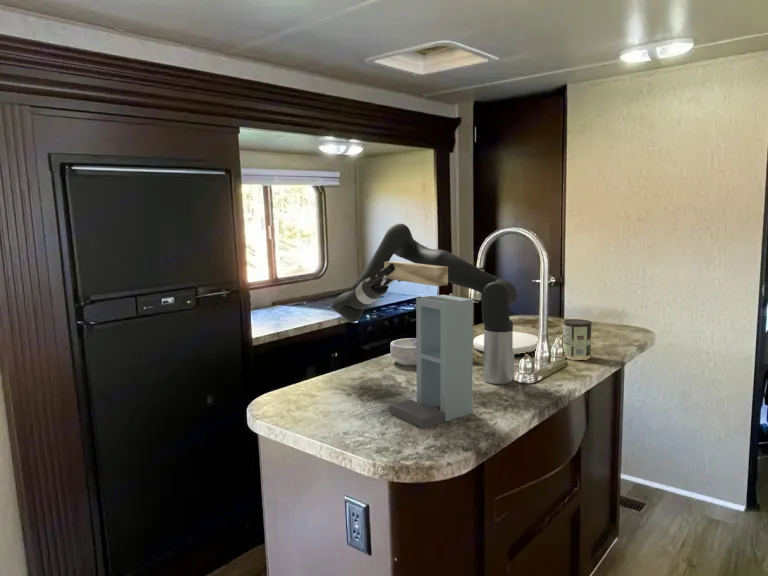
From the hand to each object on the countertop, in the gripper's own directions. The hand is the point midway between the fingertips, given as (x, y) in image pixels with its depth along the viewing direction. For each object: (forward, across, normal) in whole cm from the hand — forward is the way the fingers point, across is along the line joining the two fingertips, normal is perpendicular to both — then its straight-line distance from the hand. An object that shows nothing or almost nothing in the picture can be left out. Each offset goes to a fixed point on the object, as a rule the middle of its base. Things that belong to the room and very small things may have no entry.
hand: (399, 265), depth 168 cm
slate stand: (-2, 0, +44) cm, 44 cm away
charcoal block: (-3, -9, +44) cm, 45 cm away
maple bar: (+4, 0, +7) cm, 8 cm away
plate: (-37, +70, +26) cm, 83 cm away
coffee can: (-14, +80, +38) cm, 90 cm away
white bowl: (-43, +26, +22) cm, 55 cm away
